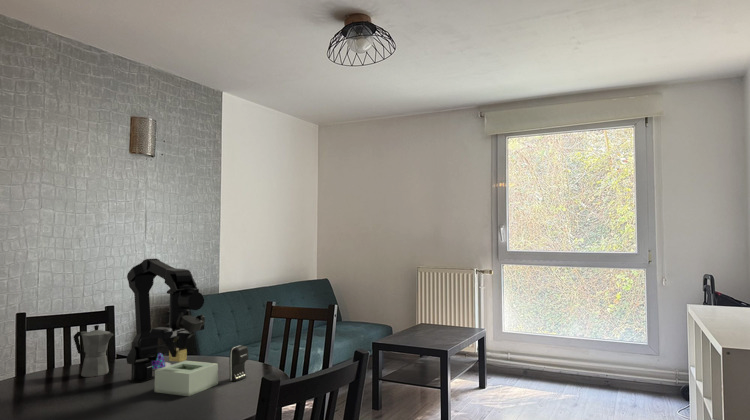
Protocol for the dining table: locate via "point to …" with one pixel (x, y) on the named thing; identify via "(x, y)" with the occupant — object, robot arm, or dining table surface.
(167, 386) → the open box
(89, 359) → the coffeepot
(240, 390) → the dining table surface
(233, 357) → the battery charger
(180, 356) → the khaki wooden block
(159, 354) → the pudding
